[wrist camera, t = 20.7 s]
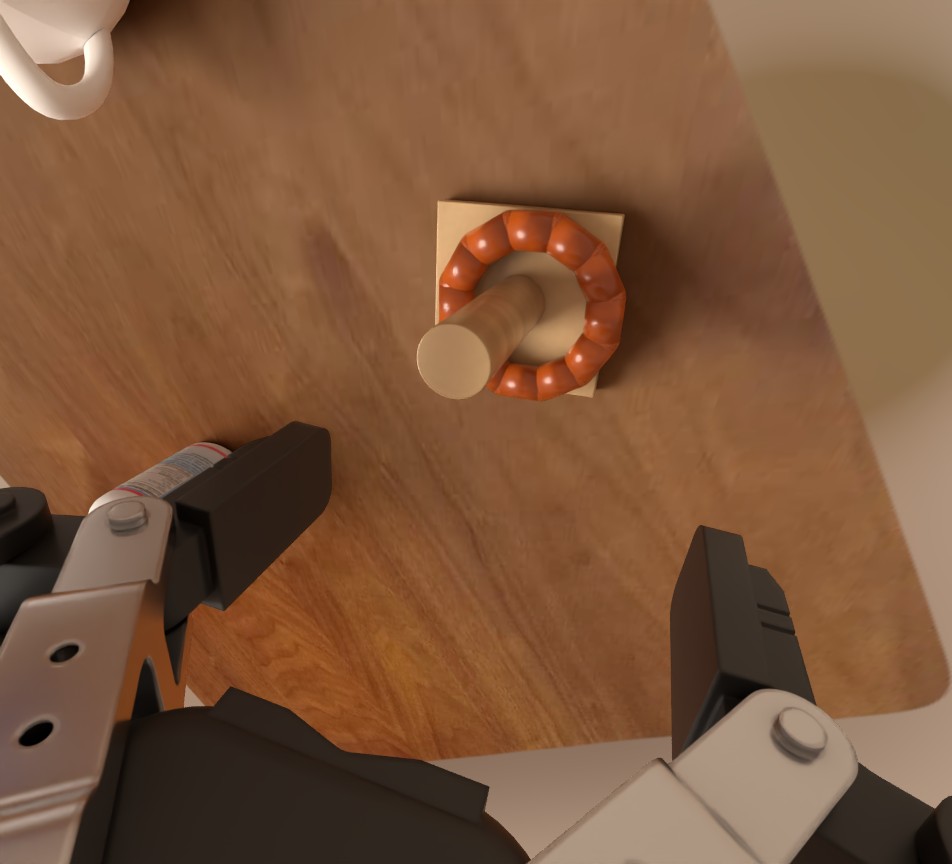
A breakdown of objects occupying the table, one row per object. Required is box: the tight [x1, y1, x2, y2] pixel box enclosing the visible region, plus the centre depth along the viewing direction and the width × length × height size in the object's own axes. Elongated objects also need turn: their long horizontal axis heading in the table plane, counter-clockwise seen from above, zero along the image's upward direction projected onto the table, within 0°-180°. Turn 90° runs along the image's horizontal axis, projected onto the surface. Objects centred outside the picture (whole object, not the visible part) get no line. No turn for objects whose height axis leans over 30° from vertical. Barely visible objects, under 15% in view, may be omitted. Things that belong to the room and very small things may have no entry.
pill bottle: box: [88, 442, 232, 514], centre depth 36 cm, size 6×6×11 cm
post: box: [417, 199, 625, 399], centre depth 24 cm, size 9×9×11 cm
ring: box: [439, 210, 626, 401], centre depth 27 cm, size 9×9×2 cm
